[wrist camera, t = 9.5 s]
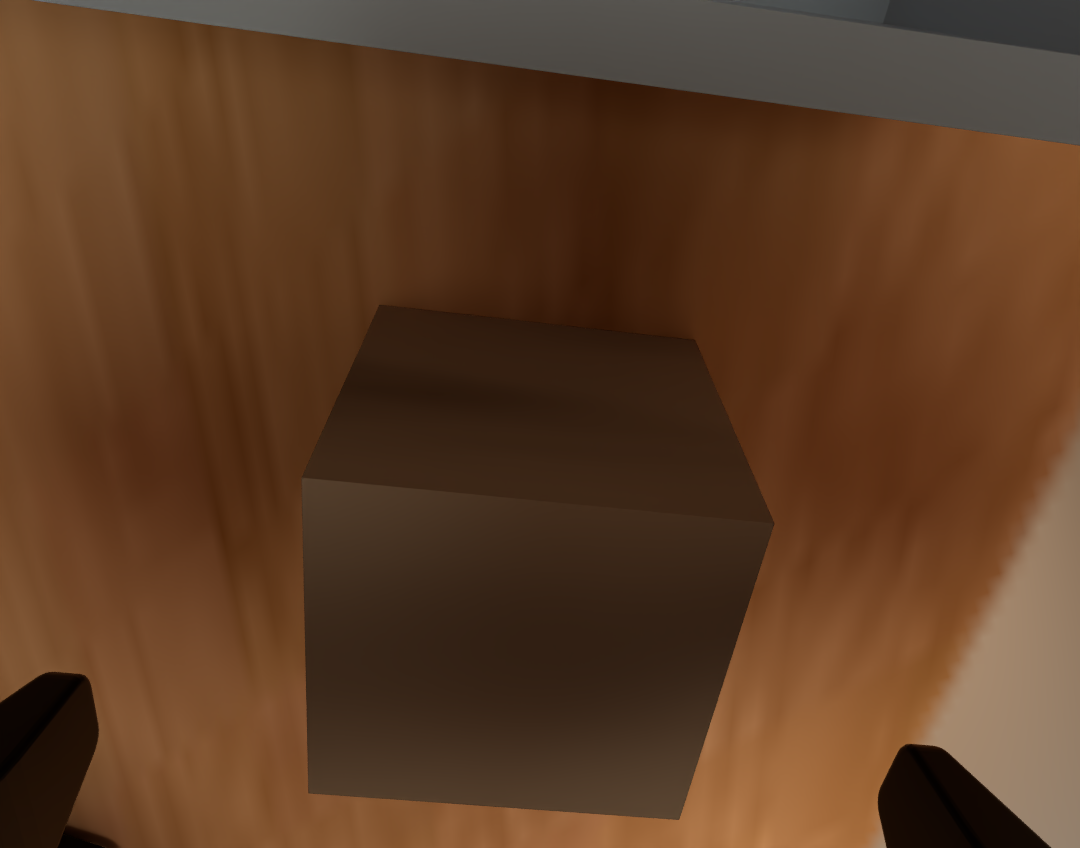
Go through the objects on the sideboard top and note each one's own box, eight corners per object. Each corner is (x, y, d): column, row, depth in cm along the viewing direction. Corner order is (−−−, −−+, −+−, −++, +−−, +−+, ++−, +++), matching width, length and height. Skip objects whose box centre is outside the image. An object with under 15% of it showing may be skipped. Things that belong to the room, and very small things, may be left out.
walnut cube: (637, 580, 16) (679, 820, 11) (372, 556, 15) (308, 793, 11) (694, 338, 13) (774, 524, 9) (379, 303, 13) (300, 478, 8)
